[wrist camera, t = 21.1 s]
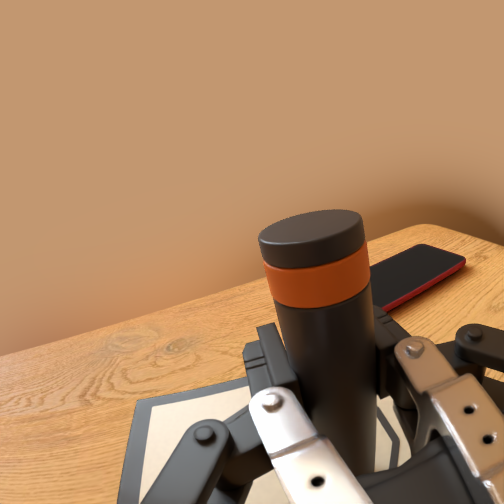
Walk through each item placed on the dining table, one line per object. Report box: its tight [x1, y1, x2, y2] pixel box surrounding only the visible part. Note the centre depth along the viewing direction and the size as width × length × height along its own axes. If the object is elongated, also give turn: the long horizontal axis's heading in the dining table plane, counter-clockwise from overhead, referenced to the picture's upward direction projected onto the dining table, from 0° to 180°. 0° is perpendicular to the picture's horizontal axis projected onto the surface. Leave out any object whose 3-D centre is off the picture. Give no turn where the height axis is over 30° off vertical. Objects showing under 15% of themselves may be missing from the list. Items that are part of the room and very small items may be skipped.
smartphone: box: [370, 244, 466, 312], centre depth 28 cm, size 7×1×15 cm
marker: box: [258, 210, 377, 477], centre depth 9 cm, size 3×3×12 cm
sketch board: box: [117, 377, 411, 504], centre depth 13 cm, size 20×16×1 cm
